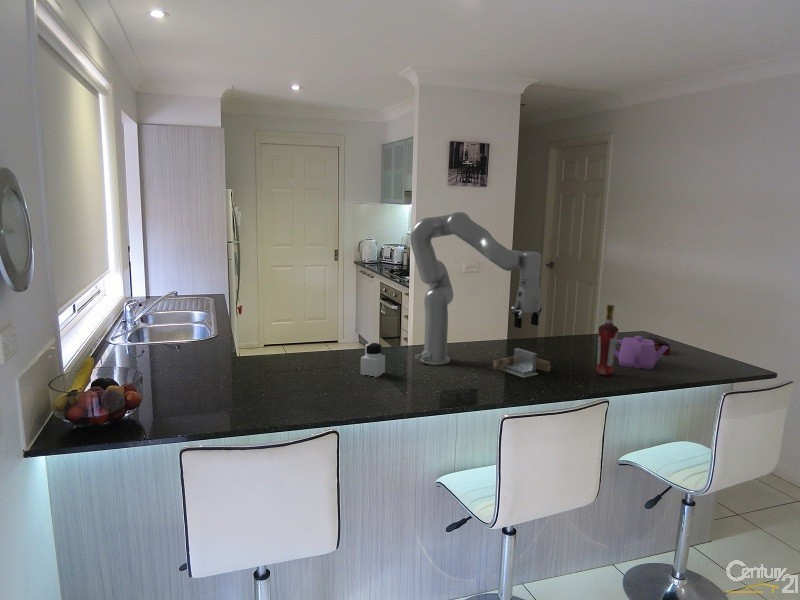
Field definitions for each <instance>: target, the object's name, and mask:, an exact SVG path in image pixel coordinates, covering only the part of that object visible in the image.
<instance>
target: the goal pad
mask: <svg viewBox="0 0 800 600" xmlns="http://www.w3.org/2000/svg"><path fill="white" fill-rule="evenodd" d="M501 371H503V372H505V373H509V374H512V375H514V376H518V377H521V378H529V377H532V376H533V377H534V376H537V375H539V373H538V372H535V373H534V374H530V375H526V376H521V375H518V374H516V373H513V372H510V371H507V370H504V369H501Z"/></svg>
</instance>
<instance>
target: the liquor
mask: <svg viewBox="0 0 800 600" xmlns="http://www.w3.org/2000/svg"><path fill="white" fill-rule="evenodd" d="M614 311H615V305H614V304H606V317H605V322H604V324H601V325H600V326H598V333H597V334H598V336H597V360H596V361H597V362H596V369H595V371H596V373H597V374H598V375H599V376H602V375H603V377H609V376H611V375H613V374H614V373H615V372H614V365H615V364H614V363H615V357H616V355H615V349H616V350H617V344H618V343H617V340H618V337H619V336H618V335H619V328H618V327H617V326H616V325H614Z"/></svg>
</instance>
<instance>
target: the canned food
mask: <svg viewBox="0 0 800 600" xmlns="http://www.w3.org/2000/svg"><path fill="white" fill-rule="evenodd" d="M647 339H648V340H653V341H654V347H655V352H657V351H658V350H659V349H660V348H662V347H663V345H664V346H667V347H668V349H667V350H666V351H665V352H664V353H663V354H662V356H669V355H670V354H671V344H670V343H668V342H667V341H666V340H664V339H662V338H660V337H658V336H656V335H653V334H649V335H648V336H647ZM668 354H669V355H668Z"/></svg>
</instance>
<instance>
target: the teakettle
mask: <svg viewBox="0 0 800 600" xmlns="http://www.w3.org/2000/svg"><path fill="white" fill-rule="evenodd" d="M616 344H617V345H618V344H620V348H619V350H618V349H617V348H616V349H615V357H617V358H618V364H619V366H620V365H622V366H621V367H625V366H628V367H627V368H631V367H634V368H633V369H639V368H643V369H642V370H650V369H652V370H654V368H655V365H656V362H658V360H659V359H660V358H661V357H662V356H663V355H662V354H663V353H664V352H665V351H666V350H667V349H668V347H667V346H664V345H663V347H662V348H660V349H659V350H658V351H657V352H655V347H654V344H655V342H654V341H653V340H649V339H648V338H644V337H643V336H642V335H634V337H627V336H626V337H623V338H622V339H617V343H616Z"/></svg>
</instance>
